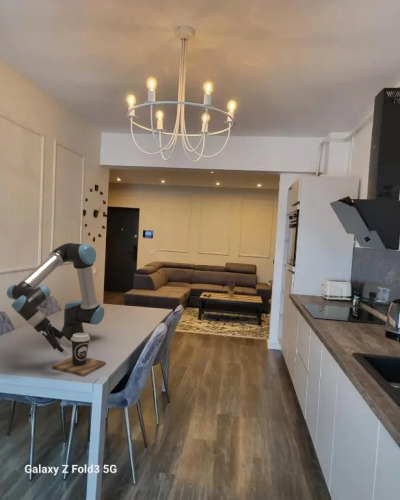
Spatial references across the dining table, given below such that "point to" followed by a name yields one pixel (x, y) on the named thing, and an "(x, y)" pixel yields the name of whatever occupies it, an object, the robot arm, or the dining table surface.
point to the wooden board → (78, 370)
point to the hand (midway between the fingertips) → (69, 350)
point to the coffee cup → (79, 348)
